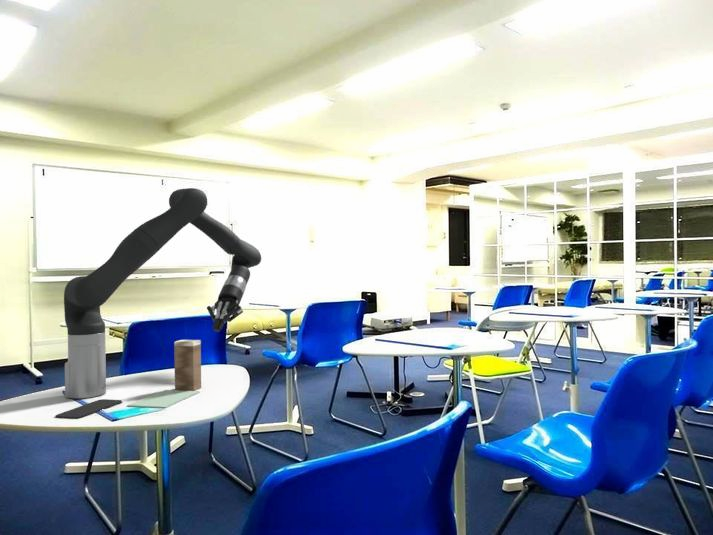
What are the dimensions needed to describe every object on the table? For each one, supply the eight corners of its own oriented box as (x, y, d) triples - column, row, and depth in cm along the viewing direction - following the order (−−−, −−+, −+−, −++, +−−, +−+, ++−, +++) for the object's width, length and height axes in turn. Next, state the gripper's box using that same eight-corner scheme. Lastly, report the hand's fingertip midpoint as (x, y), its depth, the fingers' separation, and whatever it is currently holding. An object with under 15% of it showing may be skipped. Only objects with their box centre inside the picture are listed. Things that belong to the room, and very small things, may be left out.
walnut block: (174, 390, 138) (174, 341, 139) (182, 387, 142) (182, 339, 142) (193, 391, 137) (193, 341, 137) (201, 387, 141) (200, 339, 141)
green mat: (127, 406, 122) (127, 405, 122) (165, 391, 138) (165, 389, 138) (165, 408, 120) (165, 406, 120) (199, 392, 136) (199, 391, 136)
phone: (52, 415, 114) (100, 399, 128) (52, 419, 114) (100, 402, 128) (78, 417, 112) (124, 400, 127) (78, 421, 112) (124, 403, 127)
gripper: (211, 283, 167) (192, 322, 155) (247, 283, 165) (230, 322, 152) (219, 298, 172) (201, 337, 160) (253, 298, 170) (238, 337, 157)
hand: (215, 330), depth 156 cm, fingers closed
